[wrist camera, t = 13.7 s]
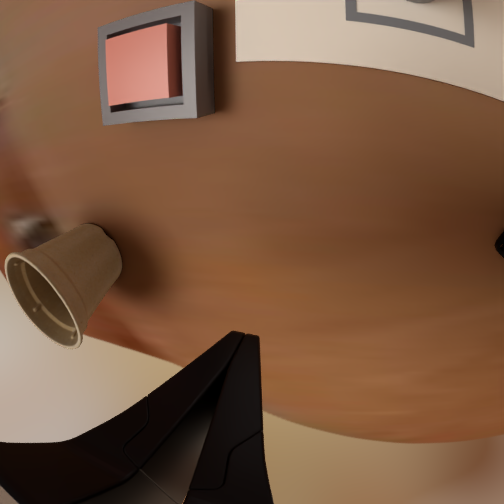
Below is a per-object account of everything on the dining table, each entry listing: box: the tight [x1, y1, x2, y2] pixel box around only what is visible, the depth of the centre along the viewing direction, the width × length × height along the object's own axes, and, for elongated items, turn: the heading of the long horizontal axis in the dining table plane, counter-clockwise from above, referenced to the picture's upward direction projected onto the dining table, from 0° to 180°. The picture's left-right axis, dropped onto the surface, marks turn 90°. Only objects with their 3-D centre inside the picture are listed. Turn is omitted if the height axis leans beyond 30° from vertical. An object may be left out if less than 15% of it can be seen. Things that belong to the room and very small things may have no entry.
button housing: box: [98, 1, 215, 126], centre depth 16 cm, size 7×7×2 cm
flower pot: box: [5, 224, 122, 349], centre depth 23 cm, size 9×9×9 cm
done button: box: [105, 23, 183, 106], centre depth 15 cm, size 4×4×2 cm
